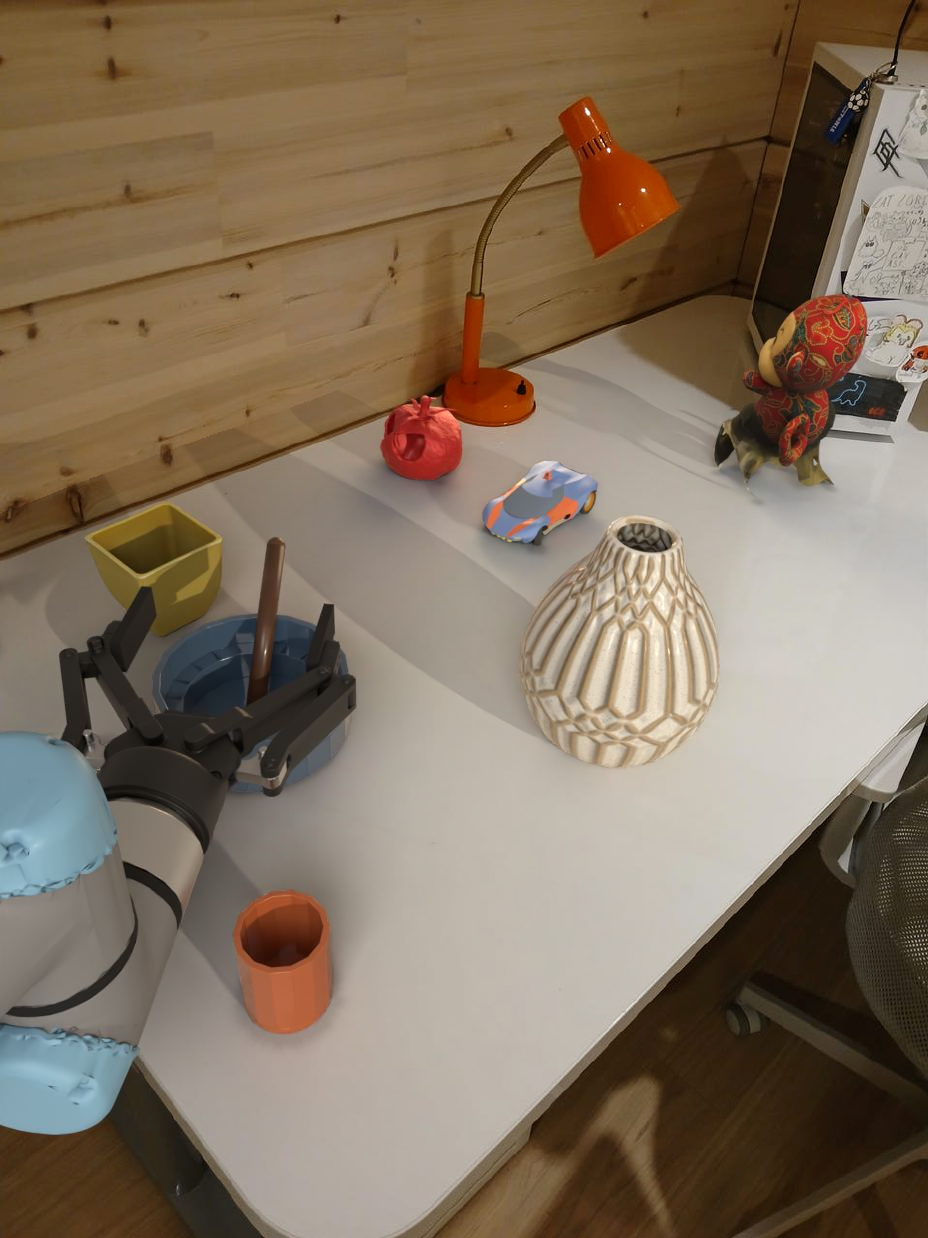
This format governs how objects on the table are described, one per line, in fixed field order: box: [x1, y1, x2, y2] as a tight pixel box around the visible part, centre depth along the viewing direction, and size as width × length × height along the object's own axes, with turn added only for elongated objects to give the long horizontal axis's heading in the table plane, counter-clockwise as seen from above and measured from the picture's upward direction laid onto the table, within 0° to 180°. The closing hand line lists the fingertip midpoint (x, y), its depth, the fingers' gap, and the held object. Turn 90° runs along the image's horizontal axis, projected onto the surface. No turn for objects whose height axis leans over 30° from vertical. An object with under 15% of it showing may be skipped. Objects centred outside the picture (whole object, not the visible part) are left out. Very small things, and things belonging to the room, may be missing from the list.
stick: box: [246, 536, 287, 706], centre depth 81 cm, size 2×2×16 cm
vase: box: [518, 514, 721, 769], centre depth 76 cm, size 16×16×20 cm
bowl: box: [151, 612, 351, 793], centre depth 78 cm, size 15×15×6 cm
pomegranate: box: [379, 394, 463, 481], centre depth 112 cm, size 10×10×9 cm
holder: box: [232, 889, 334, 1035], centre depth 60 cm, size 6×6×7 cm
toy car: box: [481, 459, 599, 547], centre depth 106 cm, size 8×15×5 cm, turn 142°
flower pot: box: [84, 500, 223, 637], centre depth 88 cm, size 9×9×9 cm
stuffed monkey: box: [712, 293, 868, 498], centre depth 108 cm, size 15×17×25 cm
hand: (239, 609), depth 72 cm, fingers open, 13 cm apart
